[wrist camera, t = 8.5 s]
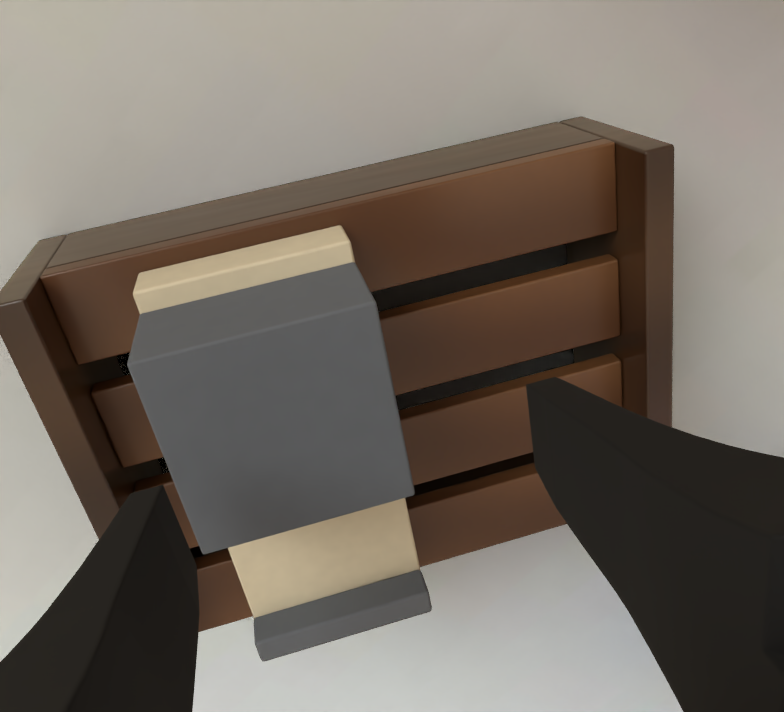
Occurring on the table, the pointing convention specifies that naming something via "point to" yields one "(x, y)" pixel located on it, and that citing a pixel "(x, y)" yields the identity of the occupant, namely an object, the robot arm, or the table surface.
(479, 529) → the rack
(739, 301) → the table surface
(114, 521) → the robot arm
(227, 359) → the grey and beige block
